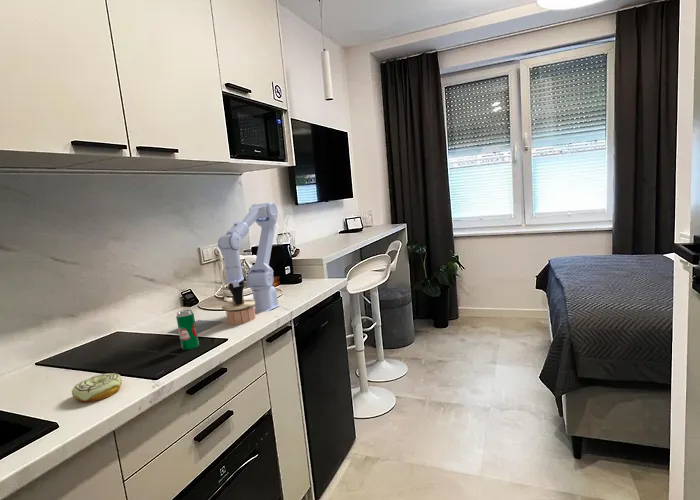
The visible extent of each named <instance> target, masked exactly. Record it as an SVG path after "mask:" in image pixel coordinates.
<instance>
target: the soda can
mask: <svg viewBox="0 0 700 500" xmlns="http://www.w3.org/2000/svg"><path fill="white" fill-rule="evenodd" d="M175 318H176V324H177V328H178V329H179V334H178V335H179V340H180V345H181V349H182V350H183V351H189V350H190V351H191V350H194V349H196V348H198V347H199V346H200V341H199V337H198V335H199V334H197V330H196V324H195V321H196V319H195V314H194V312H193V310H192V309H184V310H180V311H177V312H176V316H175Z"/></svg>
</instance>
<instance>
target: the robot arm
mask: <svg viewBox="0 0 700 500" xmlns="http://www.w3.org/2000/svg"><path fill="white" fill-rule="evenodd" d="M278 213H279V211H278V208H277V206H276V203H275V202H273V201H269V202H264V203H263V202H262V203H257V204H256V203H253V204H251V206H250V207H249V208H248V212H247V214H246V215H245V216H244V218H243V219H242V220H241V221H235V222H234V223H233V226H232V227H231V228H230V229H229V230H227V232H226V233H225V234H222V235H220V237H219V238H218V241H217V247H218V249H219V250H220V254H221V255H222V256H223V257H222V258H223V264H224V268H225V275H226V279H223V282H224V283H228V286H227V288H228V290H229V291H230V293H231V295H232V297H234V300H235V303H236V305H237V304H242V295H243V293H244V288H245V284H244V283H245V282H246V285H247V286H248V288H250V290H251V291H252V297H253V301H255V305H254V309H255V313H257V312H258V313H259V312H261V313H266V312H269V311H272V310H274V309H277V308H278V307H280V306H281V304H279V300H278V293H277V289H276V287H275V286H273V284H274V281H275V279H274V270H273V268H272V267H271V266H270V260H271V256H272V255H271V253H272V248H273V242H274V236H275V231H276V224H277V219H278V215H279V214H278ZM254 223H256V224H257V225H258V226H259V227H260V228H261V231H260V237H259V241H258V246H257V251H256V259H255V263H254V264H253V265H252V266H250V268H249V270H248V273H247V275H246V277H244V273H243V267H242V263H241V256H240V248H241V247H242V242H243V239H244V238H245V237H246V236H247V235H248V233H249V231H250V229H249V228H250V227H251V226H252V225H253V224H254ZM245 278H246V279H245ZM244 280H245V282H244Z"/></svg>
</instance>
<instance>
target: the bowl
mask: <svg viewBox="0 0 700 500" xmlns="http://www.w3.org/2000/svg"><path fill="white" fill-rule="evenodd" d="M225 315H226V321H227V323H228V325H241V324H246V323H249V322H251V321H254V320H255V319H256V318H257V317H256V316H257V315H256V311H255V305H253V306H251V307H248V308H245V309H240V310H225Z"/></svg>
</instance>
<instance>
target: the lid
mask: <svg viewBox="0 0 700 500" xmlns="http://www.w3.org/2000/svg"><path fill="white" fill-rule="evenodd" d="M231 298H232V299H231V302H227V303H225V304H223V305H221V309H222V310H223V311H226V310H240V309H245V308H248V307H251V306H253V305H254V306H255V301H254V299H244V295H243V294H242V304H237V305H236V303H235V300H234V297H233V296H232V297H231Z"/></svg>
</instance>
